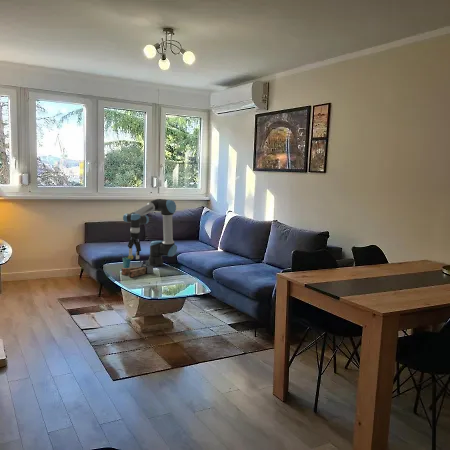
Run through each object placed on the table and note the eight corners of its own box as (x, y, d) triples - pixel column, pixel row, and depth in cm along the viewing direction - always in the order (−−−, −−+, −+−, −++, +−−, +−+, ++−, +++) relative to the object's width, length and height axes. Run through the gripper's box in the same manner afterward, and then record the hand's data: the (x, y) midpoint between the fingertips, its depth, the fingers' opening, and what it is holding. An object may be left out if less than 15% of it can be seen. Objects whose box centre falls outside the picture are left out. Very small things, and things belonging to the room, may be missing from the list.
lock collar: (147, 270, 399) (147, 259, 398) (153, 272, 391) (153, 262, 390) (141, 270, 396) (141, 260, 394) (147, 273, 388) (147, 262, 386)
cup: (118, 271, 392) (118, 254, 390) (116, 269, 399) (117, 252, 397) (134, 270, 398) (134, 254, 396) (131, 268, 405) (132, 252, 403)
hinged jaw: (143, 273, 390) (143, 267, 389) (145, 273, 388) (146, 267, 388) (128, 276, 374) (129, 270, 374) (131, 277, 373) (131, 271, 372)
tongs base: (146, 271, 397) (146, 265, 396) (149, 272, 393) (149, 267, 392) (121, 274, 382) (121, 268, 382) (124, 275, 378) (124, 269, 377)
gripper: (124, 230, 374) (123, 254, 376) (137, 234, 354) (136, 260, 357) (132, 230, 378) (131, 254, 381) (146, 234, 359) (144, 260, 361)
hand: (133, 257), depth 369 cm, fingers open, 13 cm apart
